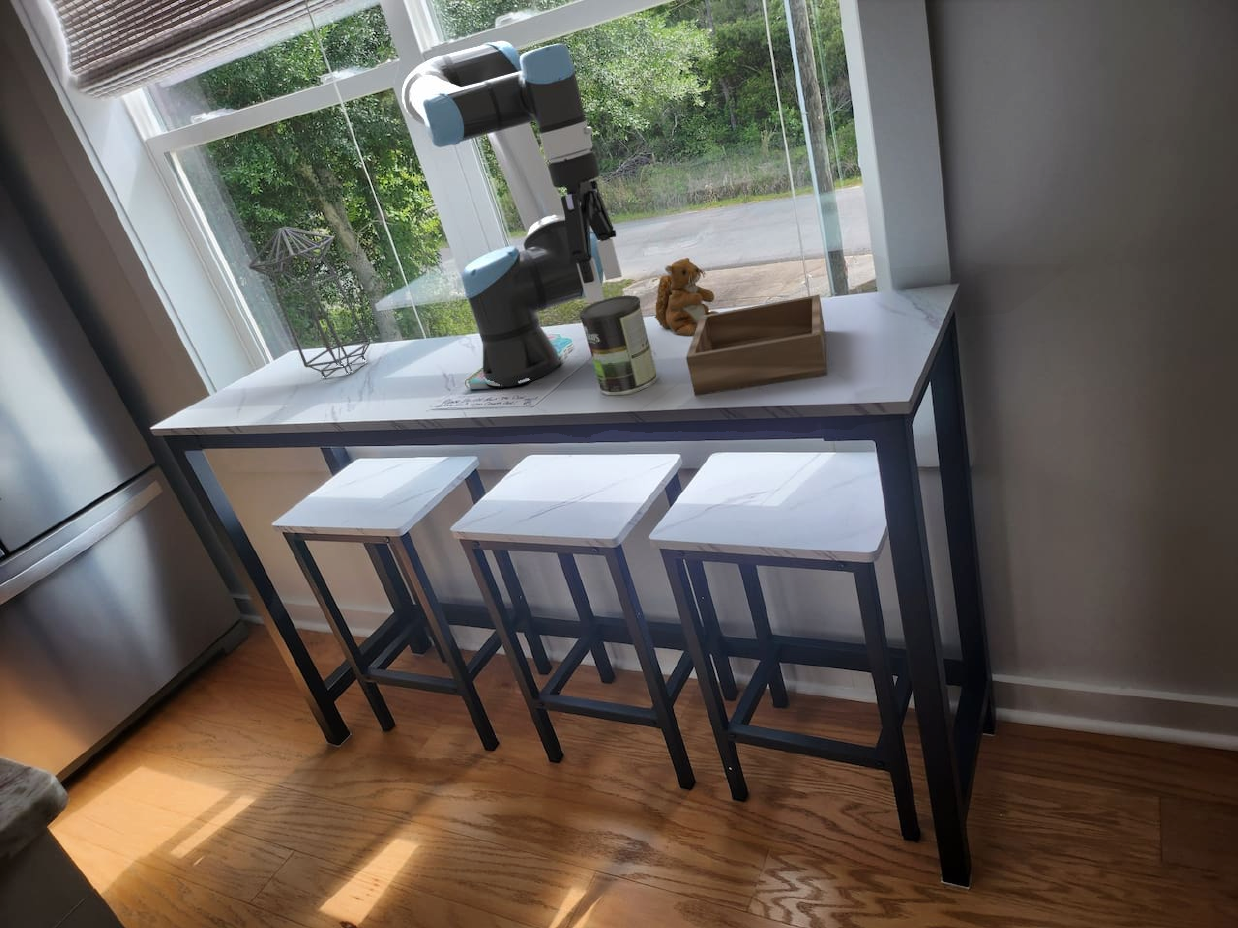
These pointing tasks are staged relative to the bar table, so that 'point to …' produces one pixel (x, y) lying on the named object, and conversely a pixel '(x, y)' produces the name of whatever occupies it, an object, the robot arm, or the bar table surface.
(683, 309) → the stuffed squirrel
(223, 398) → the bar table surface
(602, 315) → the coffee can
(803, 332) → the walnut box
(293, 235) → the geometric lantern
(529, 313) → the robot arm
